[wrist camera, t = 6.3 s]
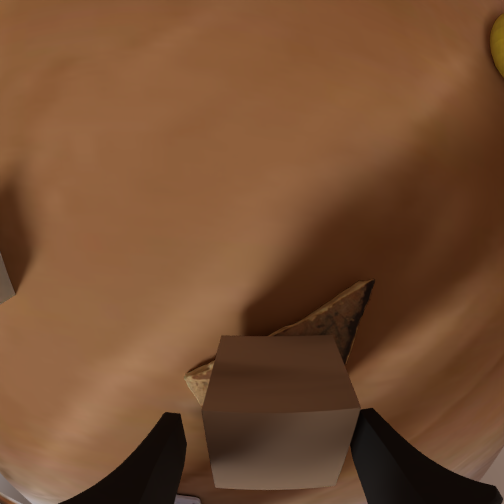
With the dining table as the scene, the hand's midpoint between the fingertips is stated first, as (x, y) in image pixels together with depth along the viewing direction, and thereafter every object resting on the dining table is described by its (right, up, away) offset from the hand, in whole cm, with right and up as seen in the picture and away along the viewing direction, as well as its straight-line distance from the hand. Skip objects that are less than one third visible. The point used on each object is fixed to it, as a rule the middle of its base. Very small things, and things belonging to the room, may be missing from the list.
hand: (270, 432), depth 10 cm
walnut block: (0, +1, +3) cm, 3 cm away
